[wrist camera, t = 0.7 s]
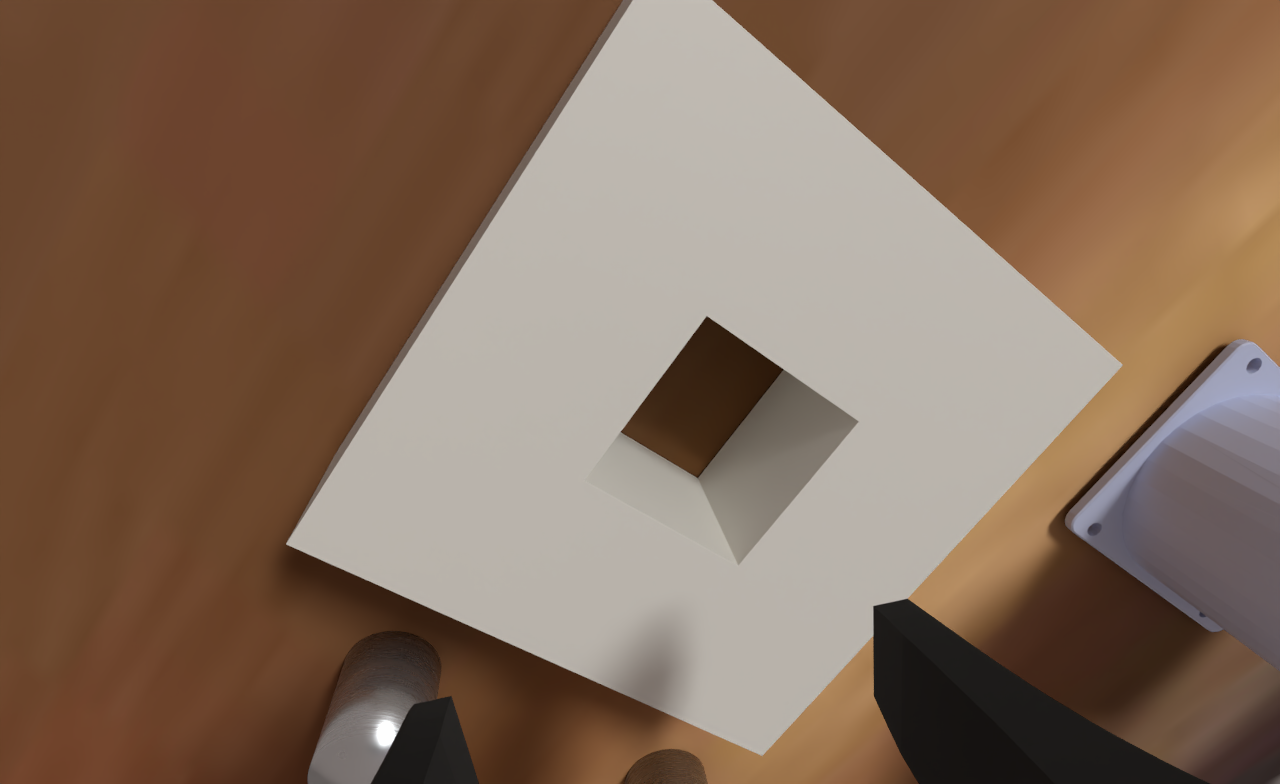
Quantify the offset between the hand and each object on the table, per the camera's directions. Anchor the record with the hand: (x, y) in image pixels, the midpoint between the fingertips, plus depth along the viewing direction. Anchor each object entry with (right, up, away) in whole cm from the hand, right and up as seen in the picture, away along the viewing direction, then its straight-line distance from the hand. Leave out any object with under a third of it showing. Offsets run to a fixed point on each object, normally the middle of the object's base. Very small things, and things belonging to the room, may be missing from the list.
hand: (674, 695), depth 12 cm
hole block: (+1, +5, +9) cm, 10 cm away
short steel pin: (-8, -4, +11) cm, 14 cm away
